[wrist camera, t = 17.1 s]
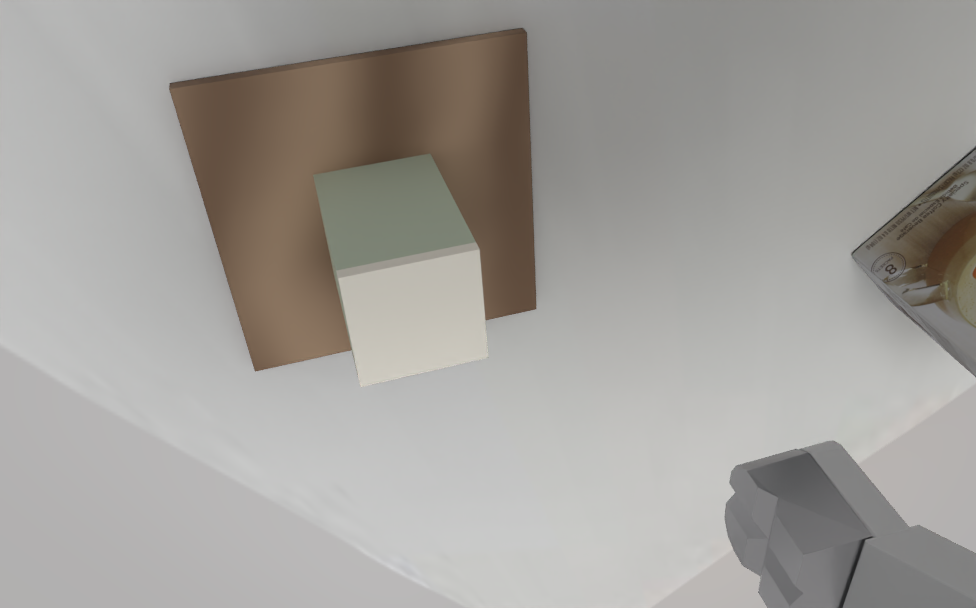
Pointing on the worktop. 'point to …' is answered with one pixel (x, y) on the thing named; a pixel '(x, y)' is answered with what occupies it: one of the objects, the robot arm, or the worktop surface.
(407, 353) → the sage block
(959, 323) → the coffee box
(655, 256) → the worktop surface
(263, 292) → the walnut pad
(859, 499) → the robot arm
